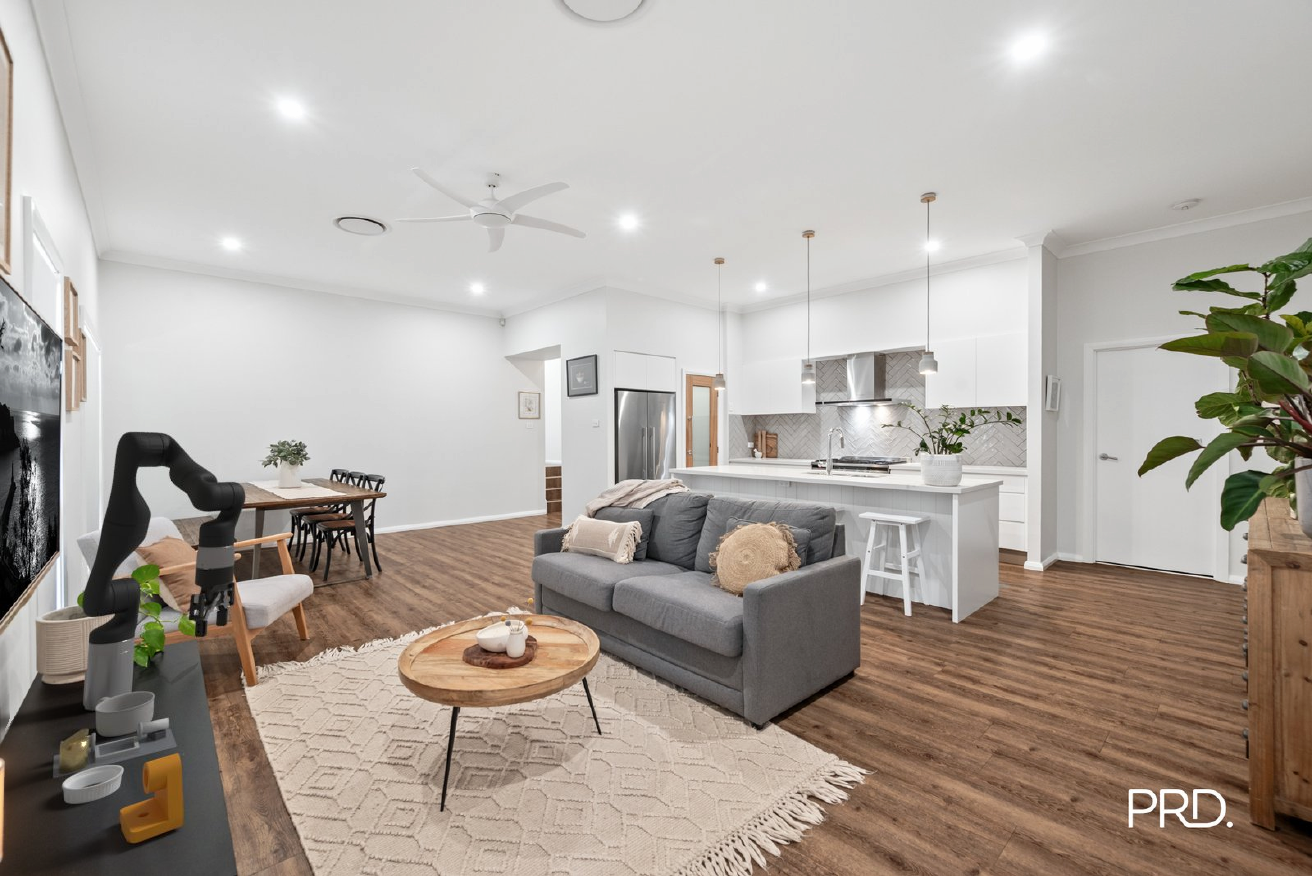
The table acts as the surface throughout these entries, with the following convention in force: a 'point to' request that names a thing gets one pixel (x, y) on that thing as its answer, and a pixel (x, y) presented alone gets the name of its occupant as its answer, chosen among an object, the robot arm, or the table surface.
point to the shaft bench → (127, 746)
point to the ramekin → (104, 774)
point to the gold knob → (74, 752)
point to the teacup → (123, 713)
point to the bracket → (156, 801)
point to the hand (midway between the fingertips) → (211, 631)
